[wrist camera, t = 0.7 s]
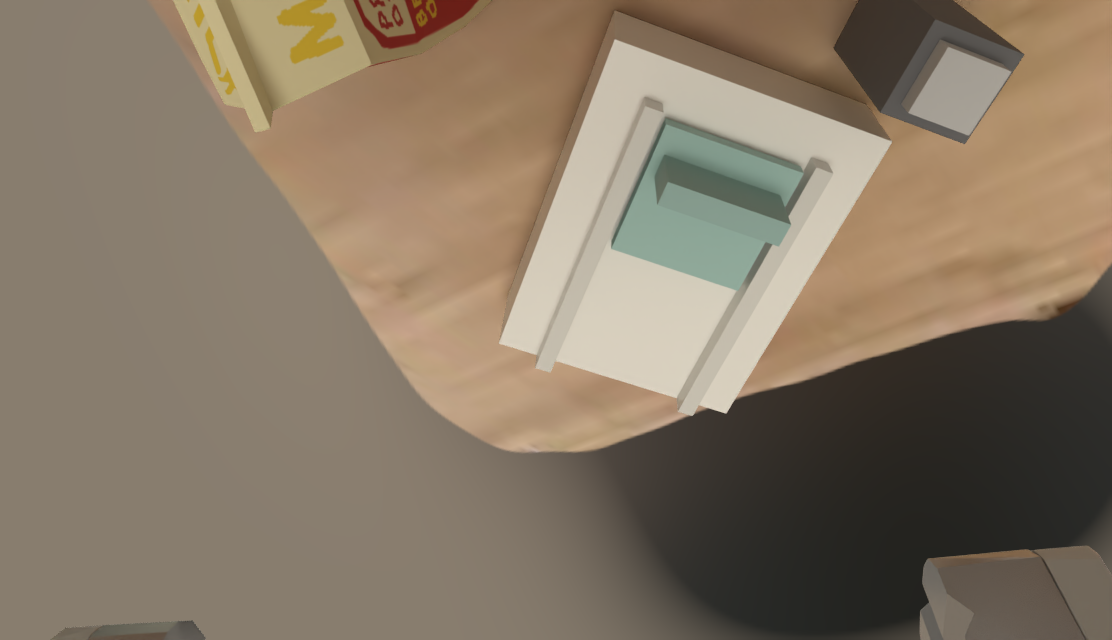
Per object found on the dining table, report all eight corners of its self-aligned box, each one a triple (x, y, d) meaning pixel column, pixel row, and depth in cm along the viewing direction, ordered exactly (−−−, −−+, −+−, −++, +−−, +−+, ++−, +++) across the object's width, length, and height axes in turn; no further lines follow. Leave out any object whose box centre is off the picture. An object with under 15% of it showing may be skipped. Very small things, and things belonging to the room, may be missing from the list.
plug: (875, -32, 40) (943, 26, 32) (949, -3, 41) (1034, 62, 33) (833, 47, 42) (886, 121, 34) (904, 75, 43) (973, 153, 35)
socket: (614, 10, 42) (614, 47, 37) (866, 104, 44) (899, 151, 39) (507, 295, 52) (496, 356, 47) (717, 362, 54) (728, 427, 49)
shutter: (665, 117, 39) (670, 150, 36) (800, 166, 40) (816, 201, 37) (611, 241, 43) (611, 280, 40) (736, 282, 44) (745, 323, 41)
